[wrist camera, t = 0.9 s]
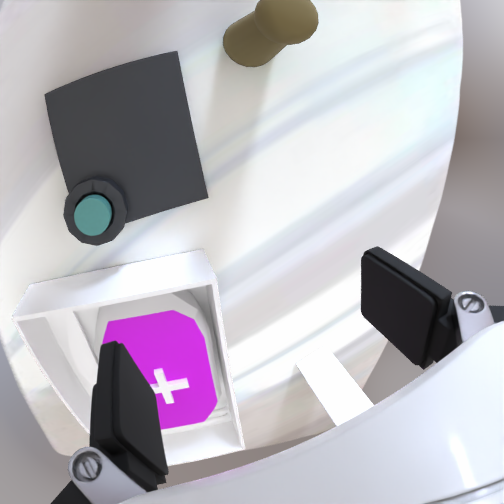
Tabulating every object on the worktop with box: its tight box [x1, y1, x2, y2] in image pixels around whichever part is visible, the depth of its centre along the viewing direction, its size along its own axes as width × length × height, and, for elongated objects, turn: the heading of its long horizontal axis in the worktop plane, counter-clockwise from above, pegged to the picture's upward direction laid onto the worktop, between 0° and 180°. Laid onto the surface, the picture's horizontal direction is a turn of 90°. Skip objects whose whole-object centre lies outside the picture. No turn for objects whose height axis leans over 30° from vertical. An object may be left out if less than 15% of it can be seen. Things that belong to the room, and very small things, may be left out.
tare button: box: [74, 194, 112, 236], centre depth 25 cm, size 4×4×2 cm
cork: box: [223, 0, 318, 67], centre depth 21 cm, size 6×6×11 cm
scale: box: [45, 51, 208, 246], centre depth 25 cm, size 17×15×3 cm
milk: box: [296, 345, 374, 426], centre depth 39 cm, size 6×6×22 cm
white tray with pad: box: [11, 249, 245, 466], centre depth 35 cm, size 22×35×7 cm, turn 4°
